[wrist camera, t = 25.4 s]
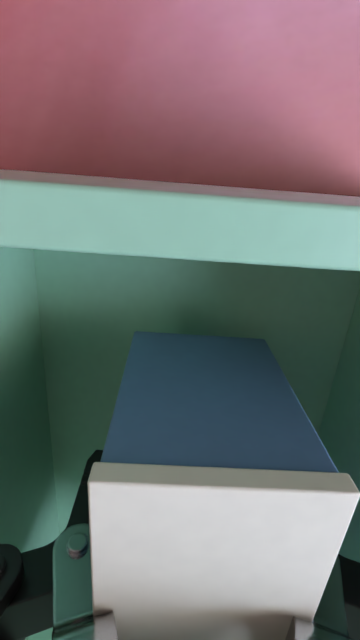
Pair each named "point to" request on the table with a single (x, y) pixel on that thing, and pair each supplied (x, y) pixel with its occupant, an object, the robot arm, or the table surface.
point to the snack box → (212, 496)
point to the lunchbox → (160, 316)
